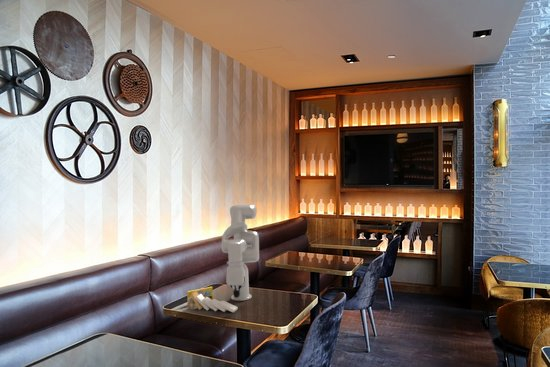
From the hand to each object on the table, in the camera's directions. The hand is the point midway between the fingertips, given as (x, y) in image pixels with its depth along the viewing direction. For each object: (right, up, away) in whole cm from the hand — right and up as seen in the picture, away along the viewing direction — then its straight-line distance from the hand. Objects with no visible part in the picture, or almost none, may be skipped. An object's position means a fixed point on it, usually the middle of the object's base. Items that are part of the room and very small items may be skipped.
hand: (236, 296), depth 219 cm
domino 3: (-11, -8, +4) cm, 14 cm away
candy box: (-24, -9, +19) cm, 32 cm away
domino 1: (-21, -8, +7) cm, 23 cm away
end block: (-26, -9, +9) cm, 29 cm away
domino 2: (-16, -8, +6) cm, 19 cm away
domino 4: (-6, -8, +2) cm, 10 cm away
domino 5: (-1, -8, 0) cm, 7 cm away
